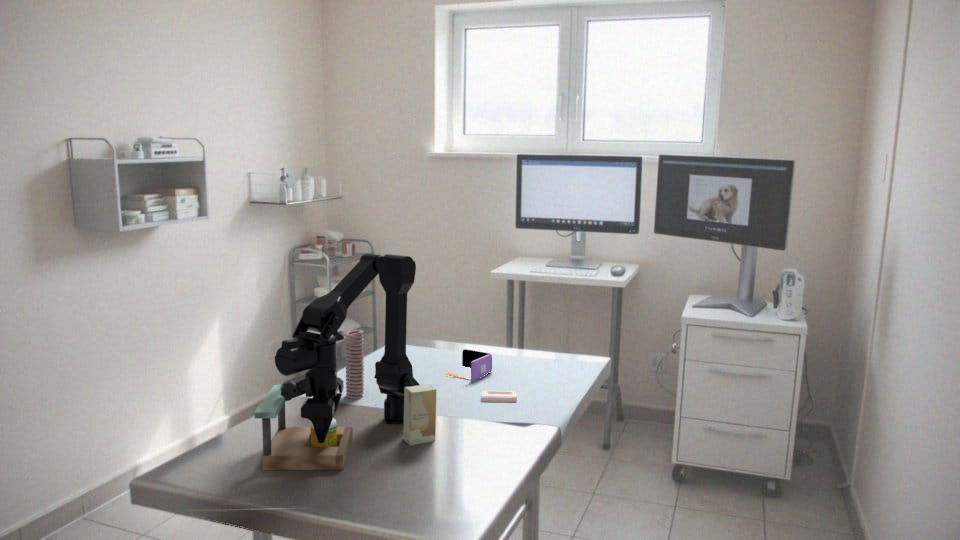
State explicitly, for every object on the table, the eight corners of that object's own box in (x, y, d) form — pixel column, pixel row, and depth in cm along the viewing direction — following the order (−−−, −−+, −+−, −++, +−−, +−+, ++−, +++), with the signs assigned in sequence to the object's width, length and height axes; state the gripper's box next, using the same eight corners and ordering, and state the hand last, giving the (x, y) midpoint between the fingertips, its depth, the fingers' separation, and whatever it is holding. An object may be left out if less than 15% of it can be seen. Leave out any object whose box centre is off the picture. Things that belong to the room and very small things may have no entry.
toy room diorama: (496, 376, 213) (497, 353, 212) (474, 386, 203) (475, 362, 202) (462, 369, 220) (462, 347, 219) (439, 379, 210) (439, 356, 209)
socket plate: (352, 437, 164) (352, 384, 162) (342, 471, 146) (341, 412, 144) (275, 438, 163) (274, 384, 161) (256, 472, 145) (254, 412, 143)
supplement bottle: (330, 460, 152) (330, 415, 150) (306, 457, 153) (305, 413, 151) (341, 450, 157) (340, 406, 156) (317, 447, 158) (316, 404, 157)
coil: (342, 398, 190) (341, 331, 188) (352, 393, 195) (351, 327, 192) (358, 401, 189) (357, 333, 186) (367, 396, 193) (366, 329, 190)
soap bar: (516, 406, 188) (517, 397, 188) (481, 405, 188) (481, 396, 188) (516, 399, 193) (516, 390, 193) (482, 398, 194) (482, 389, 193)
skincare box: (410, 446, 160) (410, 392, 158) (402, 439, 163) (402, 386, 162) (437, 441, 163) (437, 388, 161) (429, 435, 166) (429, 383, 164)
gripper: (292, 352, 161) (293, 420, 163) (273, 377, 142) (275, 453, 145) (343, 352, 161) (344, 420, 164) (331, 377, 143) (332, 453, 145)
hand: (324, 435), depth 154 cm, fingers open, 7 cm apart
